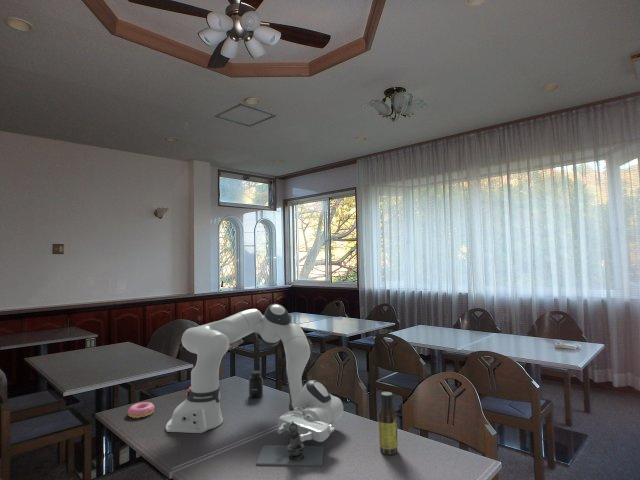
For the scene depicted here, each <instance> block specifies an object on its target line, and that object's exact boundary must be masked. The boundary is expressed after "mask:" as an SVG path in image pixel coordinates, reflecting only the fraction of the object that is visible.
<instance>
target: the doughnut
mask: <svg viewBox="0 0 640 480" xmlns="http://www.w3.org/2000/svg"><path fill="white" fill-rule="evenodd" d="M154 411H155V404H154V403H152V402H151V401H150V402H148V401H142V402H137V403H134V404H132V405H130V407H129V408H128V410H127V415H128V417H130V418H131V417H132V419H141V418H140V417H143V418H146V417H149V416H150V415H152V414H153V413H154ZM148 415H149V416H148ZM145 416H146V417H145Z"/></svg>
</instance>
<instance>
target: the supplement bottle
mask: <svg viewBox="0 0 640 480" xmlns="http://www.w3.org/2000/svg"><path fill="white" fill-rule="evenodd" d="M261 375H262V371H261V370H252V371H251V372H250V378H248V398H249V399H252V400H253V399H254V400H256V399H257V400H258V399H260V398H262V397H264V396H263V395H264V379H263V377H262V376H261Z"/></svg>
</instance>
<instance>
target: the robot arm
mask: <svg viewBox="0 0 640 480" xmlns="http://www.w3.org/2000/svg"><path fill="white" fill-rule="evenodd" d="M291 322H292V317H291V315H290V314H289V312H288V310H287V309H286V308H285V307H284V306H283V305H281V304H279V303H271V304H270V305H268V307H267V308H266V309H265V311H264V314H262V312H261V311H260V310H258V309H257V308H250V309H245V310H242V311H239V312H237V313H235V314H232V315H229V316H228V317H225V318H223V319H220V320H217V321H213V322H212V321H211V322H209V323H205V324H202V325H198V326H194V327H189V328H188V329H186V330H185V331H183V334H182V336H181V344H182V347H183V348H185V349H186V351H188V352H189V353H192V354H196V355H197V356H196V357H197V358H196V359H197V360H196V364H195V366H193V368H192V369H191V372H190V381H191V382H190V384H191V385H190V386H189V388H188V389H187V391H186V392H185V393H186V394H185V399H184V400H183V402H181V403H180V404H178V405H177V407H175V409H174V410H173V412H172V415H171V418H170V419H169V420H168V421H167V423H166V425H165V431H166V432H167V433H168V432H169V433H170V432H171V433H187V434H188V433H189V434H202V433H205V432H206V431H209V430H211V429H215V428H217V427H219V426H220V425H222V424H223V422H224V418H223V415H222V409H221V404H220V401H221V388H220V382H219V381H220V380H219V379H220V376H219V375H220V366H221V361H222V358H223V356H225V354H226V353H227V352H228V350H229V348H230V344H233V343H235V342H237V341H239V340H241V339H242V338H245V337H247V336H249V335H251V334H255V338H256V339H257V340H258V341H259V342H260V343H261V344H262V345H264V346H265V347H269V348H274V347H276V346H277V345H278V344H279V343H280V341H281V342H282V344H283V349H284V353H285V361H286V366H285V374H286V382H287V390H288V395H289V403H288V409H289V410H288V411H287V412H285V413H284V414H282V415H280V416H279V417H278V420H277V421H278V422H277V423H278V428H277V433H278V434H280V435H283V434H284V433H285V431H287V432H290V430H289V426H290V424H292V421H293V422H294V423H295V424H297V426H298V433H299V441H300V442H301V443H304V442H305V441H311V440H312V441H315V442H318V443H323V442H324V441H326V440H327V439H328V438H329V436H330V435H331V433H333V432H335V427H334V426H333V424H334V423H336V422H337V421H338V420H339V419H340V418H341V417H342V415H343V413H344V405H343V402H342V400H341V399H340V398H339V397H337V396H335V395H333V394H331V392H329V390H328V388H327V387H326V385H325V384H324V382H321V381H319V380H316V379H309V380H308V381H307V382H306V383H305V384H304V385H303V382H302V376H303V374H304V371H305V367H306V366H307V363H308V362H309V359H310V357H311V347H310V346H311V345H310V344H309V341H308V339H307V336H306V334H305V331H303V329H302V327H301V326H300V325H299V324H297V323H291Z"/></svg>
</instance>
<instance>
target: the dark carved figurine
mask: <svg viewBox="0 0 640 480" xmlns="http://www.w3.org/2000/svg"><path fill="white" fill-rule="evenodd" d="M289 430H290V431H289V434H288V437H289V438H290V439H289V440H290V442H289V444H288V445H286V446H287V449H288V452H289V453H290V454H291V455H290V456H289V460H291V461H298V460H301V459H303V458H304V454H303V453H302V451H303V447H304V446H305V444H304V442H301V441H299V433H298V426H297V424H295V423H294V422H293V421H292V424H290V426H289Z"/></svg>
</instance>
